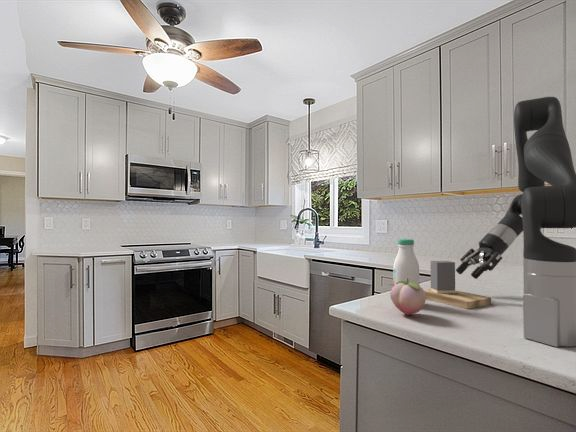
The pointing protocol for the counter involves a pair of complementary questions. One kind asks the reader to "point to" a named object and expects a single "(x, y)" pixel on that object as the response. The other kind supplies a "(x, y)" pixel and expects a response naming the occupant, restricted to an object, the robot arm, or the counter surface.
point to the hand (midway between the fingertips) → (465, 274)
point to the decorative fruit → (408, 297)
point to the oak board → (459, 299)
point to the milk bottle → (406, 263)
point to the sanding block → (443, 276)
